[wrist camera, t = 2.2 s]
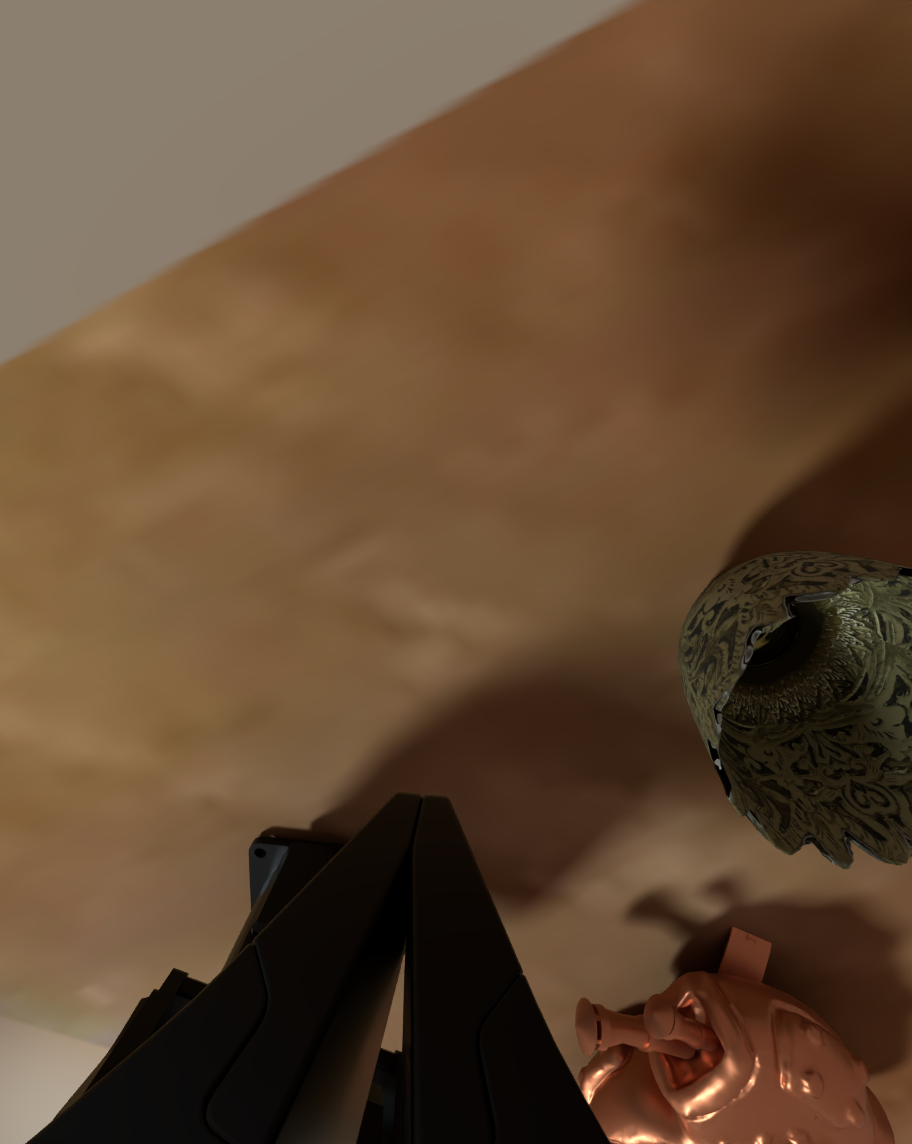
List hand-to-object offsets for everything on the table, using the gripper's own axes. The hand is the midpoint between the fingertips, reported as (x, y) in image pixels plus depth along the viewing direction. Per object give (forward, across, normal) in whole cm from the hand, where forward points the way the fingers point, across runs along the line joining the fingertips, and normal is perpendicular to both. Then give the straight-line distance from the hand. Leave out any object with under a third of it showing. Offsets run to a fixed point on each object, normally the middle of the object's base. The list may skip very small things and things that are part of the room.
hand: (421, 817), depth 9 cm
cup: (+12, -10, 0) cm, 16 cm away
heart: (+12, -12, +20) cm, 26 cm away
